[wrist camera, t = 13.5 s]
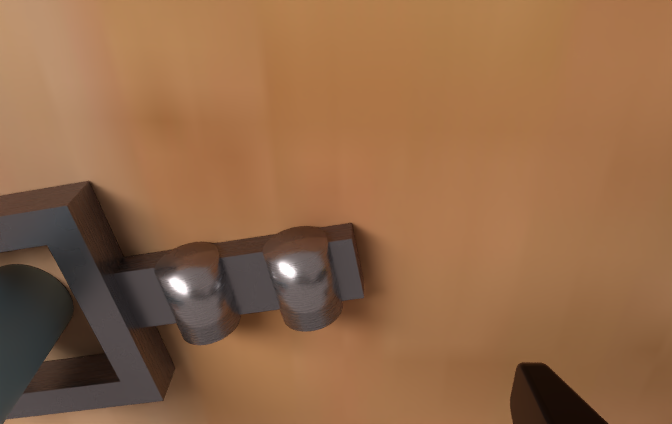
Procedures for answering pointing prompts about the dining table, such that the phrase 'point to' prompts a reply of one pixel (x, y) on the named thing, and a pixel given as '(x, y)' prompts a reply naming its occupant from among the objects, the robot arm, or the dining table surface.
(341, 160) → the dining table surface
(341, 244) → the grey square frame handle
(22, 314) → the pin
